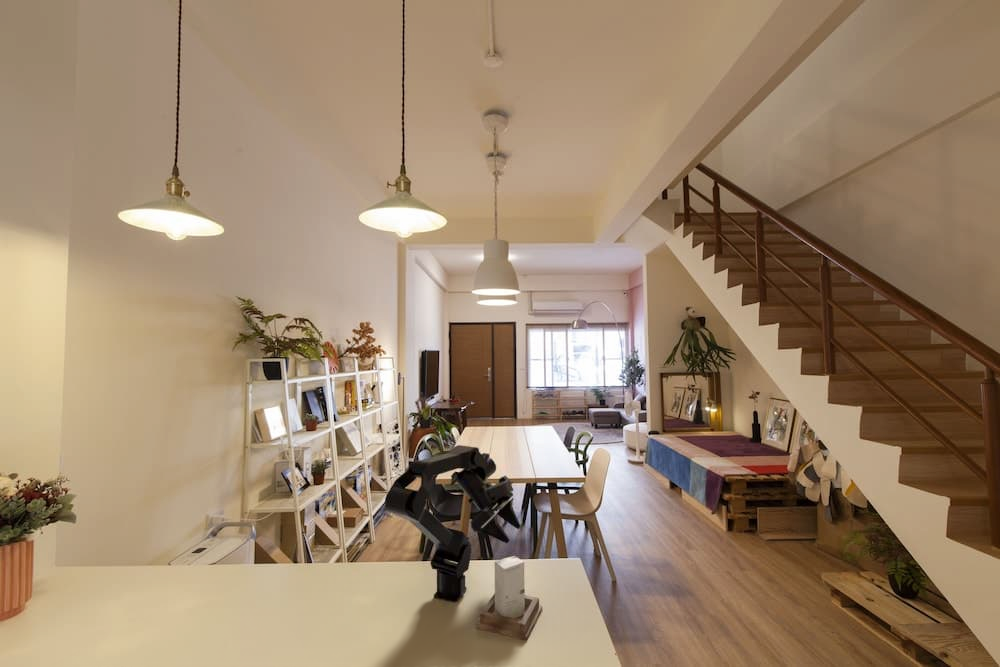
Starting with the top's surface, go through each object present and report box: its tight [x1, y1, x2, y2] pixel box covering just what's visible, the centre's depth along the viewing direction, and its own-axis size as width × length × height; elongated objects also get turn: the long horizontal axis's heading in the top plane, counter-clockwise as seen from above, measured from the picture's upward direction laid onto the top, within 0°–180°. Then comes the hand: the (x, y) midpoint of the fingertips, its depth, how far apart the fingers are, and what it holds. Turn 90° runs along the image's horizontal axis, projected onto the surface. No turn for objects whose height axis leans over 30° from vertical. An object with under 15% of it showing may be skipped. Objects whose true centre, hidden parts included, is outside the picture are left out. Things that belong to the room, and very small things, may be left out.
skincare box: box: [494, 555, 526, 619], centre depth 103 cm, size 6×4×12 cm
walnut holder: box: [476, 593, 543, 641], centre depth 103 cm, size 12×12×3 cm
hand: (514, 534), depth 117 cm, fingers open, 9 cm apart
